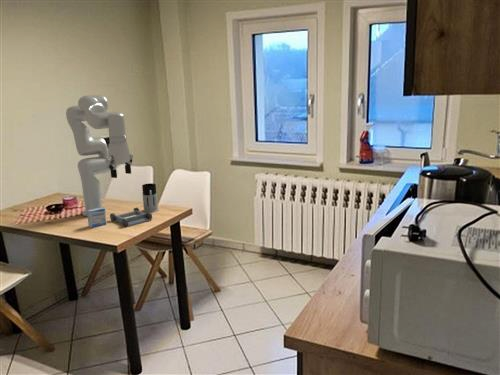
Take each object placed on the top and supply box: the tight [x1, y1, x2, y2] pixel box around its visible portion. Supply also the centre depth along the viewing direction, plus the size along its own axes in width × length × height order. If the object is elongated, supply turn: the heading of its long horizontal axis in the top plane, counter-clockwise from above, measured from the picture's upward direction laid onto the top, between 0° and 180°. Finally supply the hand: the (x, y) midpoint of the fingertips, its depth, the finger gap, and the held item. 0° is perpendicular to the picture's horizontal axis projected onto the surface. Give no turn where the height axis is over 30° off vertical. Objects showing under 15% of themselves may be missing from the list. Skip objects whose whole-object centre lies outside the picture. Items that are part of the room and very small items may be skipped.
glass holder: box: [141, 183, 160, 214], centre depth 236 cm, size 9×14×15 cm, turn 18°
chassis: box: [109, 207, 153, 227], centre depth 223 cm, size 17×15×4 cm
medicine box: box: [86, 207, 107, 229], centre depth 216 cm, size 8×4×9 cm, turn 131°
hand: (121, 175), depth 201 cm, fingers open, 9 cm apart
